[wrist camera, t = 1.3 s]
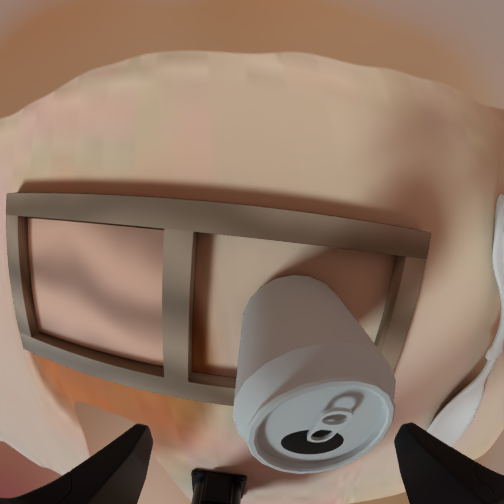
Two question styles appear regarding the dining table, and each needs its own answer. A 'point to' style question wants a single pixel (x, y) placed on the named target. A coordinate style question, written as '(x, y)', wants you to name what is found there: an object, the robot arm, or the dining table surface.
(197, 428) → the dining table surface
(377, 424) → the can
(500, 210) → the spoon
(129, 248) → the ladder rack
